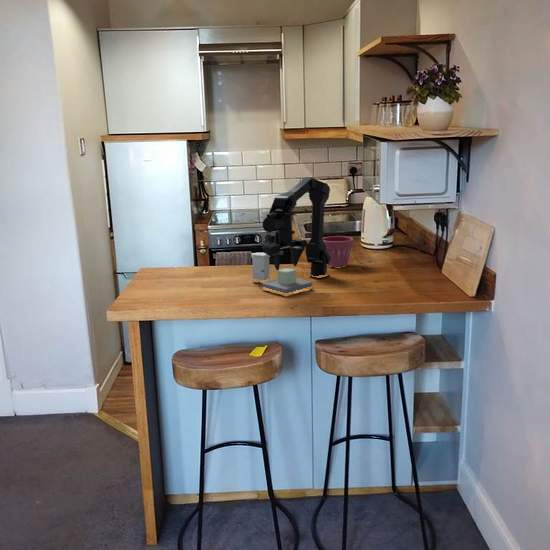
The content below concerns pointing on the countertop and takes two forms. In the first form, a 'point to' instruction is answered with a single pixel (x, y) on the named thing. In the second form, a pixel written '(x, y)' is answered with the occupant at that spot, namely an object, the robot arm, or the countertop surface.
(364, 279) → the countertop surface
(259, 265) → the skincare box
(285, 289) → the base
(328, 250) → the plant pot
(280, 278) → the green cube
